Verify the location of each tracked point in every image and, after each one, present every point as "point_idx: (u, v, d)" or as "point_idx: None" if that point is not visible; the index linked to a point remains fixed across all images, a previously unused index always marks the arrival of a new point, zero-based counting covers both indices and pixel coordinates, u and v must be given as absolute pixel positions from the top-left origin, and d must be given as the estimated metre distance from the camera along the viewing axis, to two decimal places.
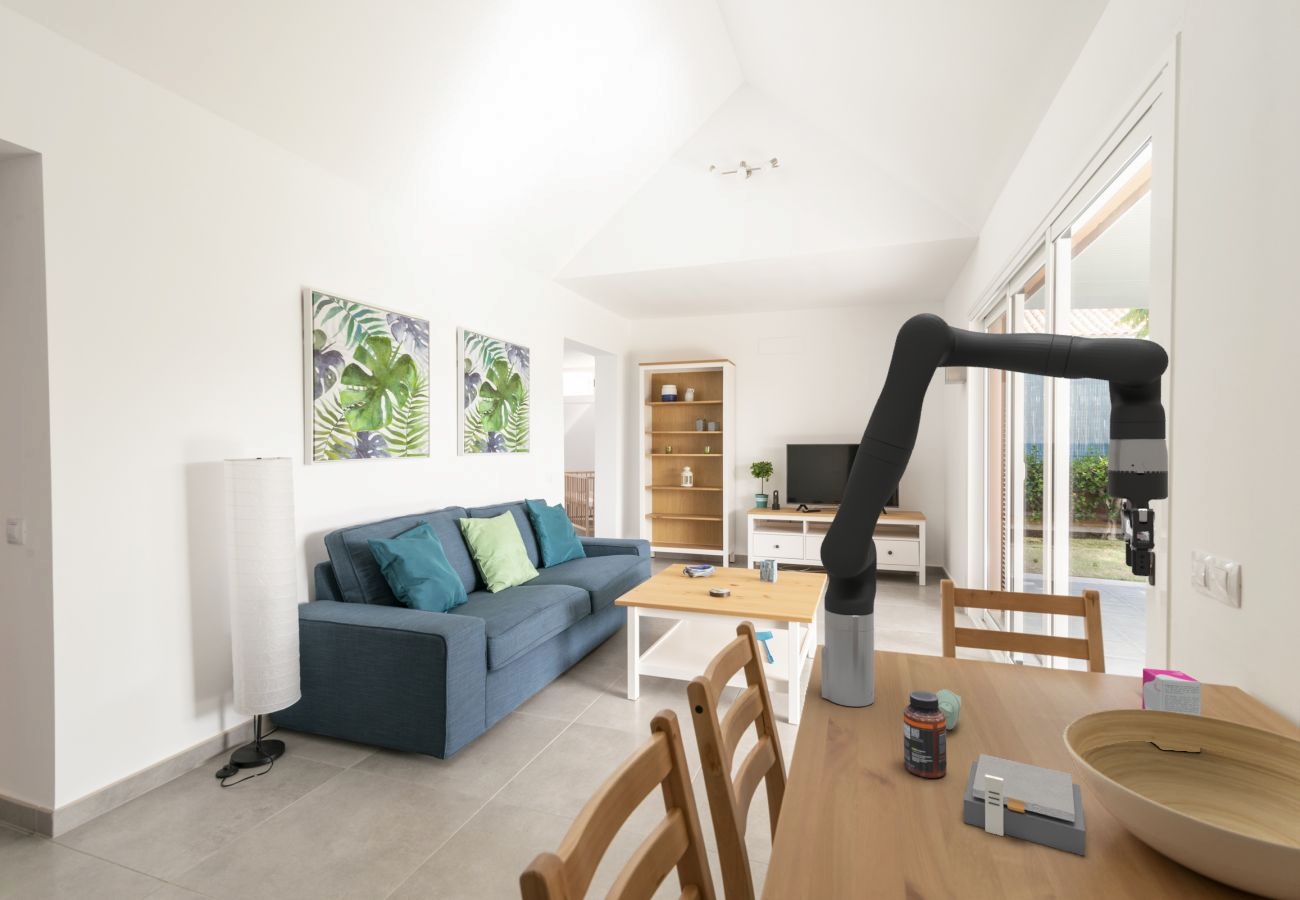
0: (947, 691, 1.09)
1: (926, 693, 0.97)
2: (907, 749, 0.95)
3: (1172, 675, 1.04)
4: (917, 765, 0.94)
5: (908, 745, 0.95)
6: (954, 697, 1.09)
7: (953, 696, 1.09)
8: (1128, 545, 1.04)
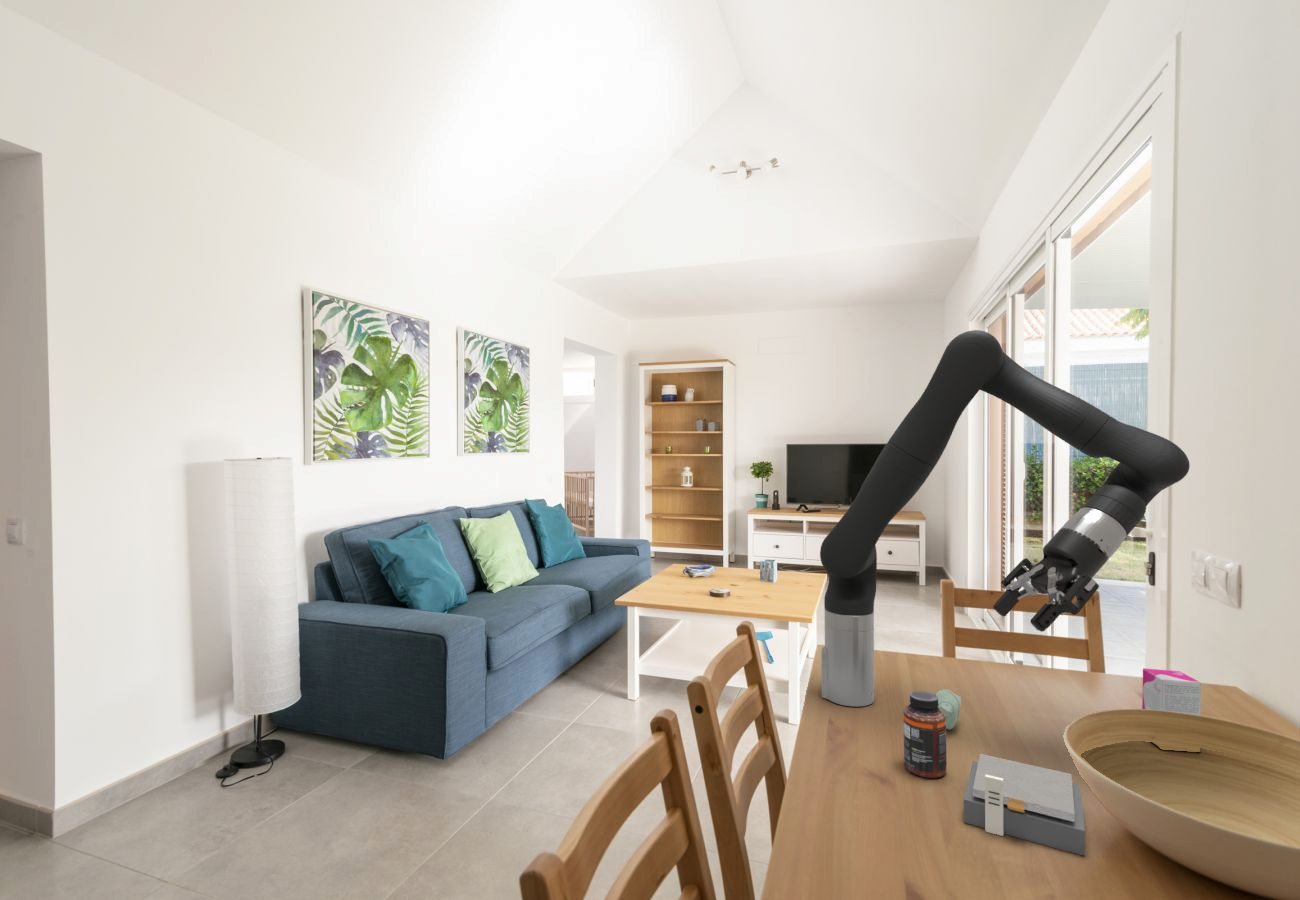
0: (947, 691, 1.10)
1: (926, 693, 0.97)
2: (907, 749, 0.95)
3: (1172, 675, 1.04)
4: (917, 765, 0.94)
5: (908, 745, 0.95)
6: (954, 697, 1.09)
7: (953, 696, 1.09)
8: (1010, 594, 1.01)
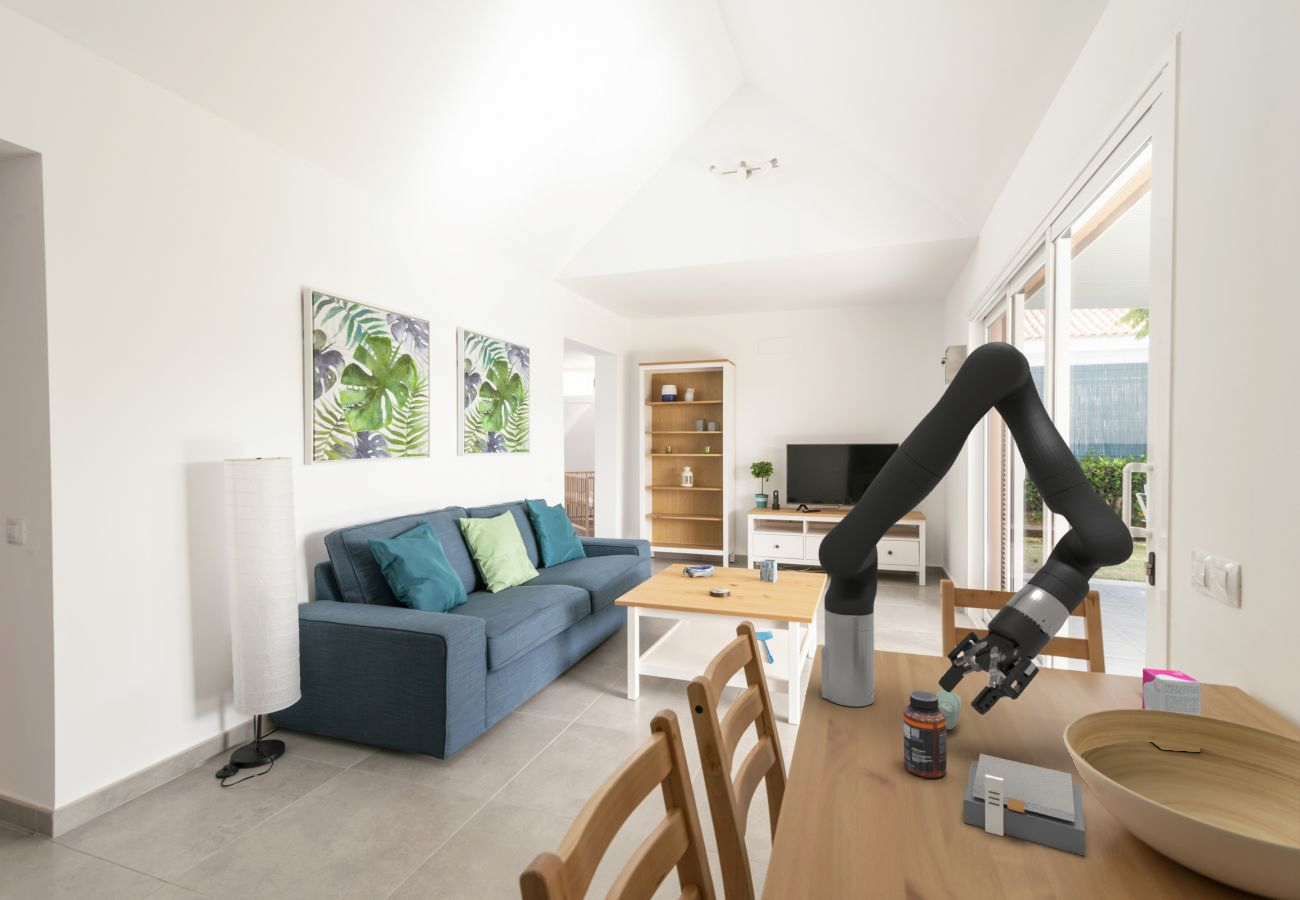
0: None
1: (926, 693, 0.97)
2: (907, 749, 0.95)
3: (1172, 675, 1.04)
4: (917, 765, 0.94)
5: (908, 745, 0.95)
6: (954, 697, 1.09)
7: (953, 696, 1.09)
8: (955, 669, 1.01)
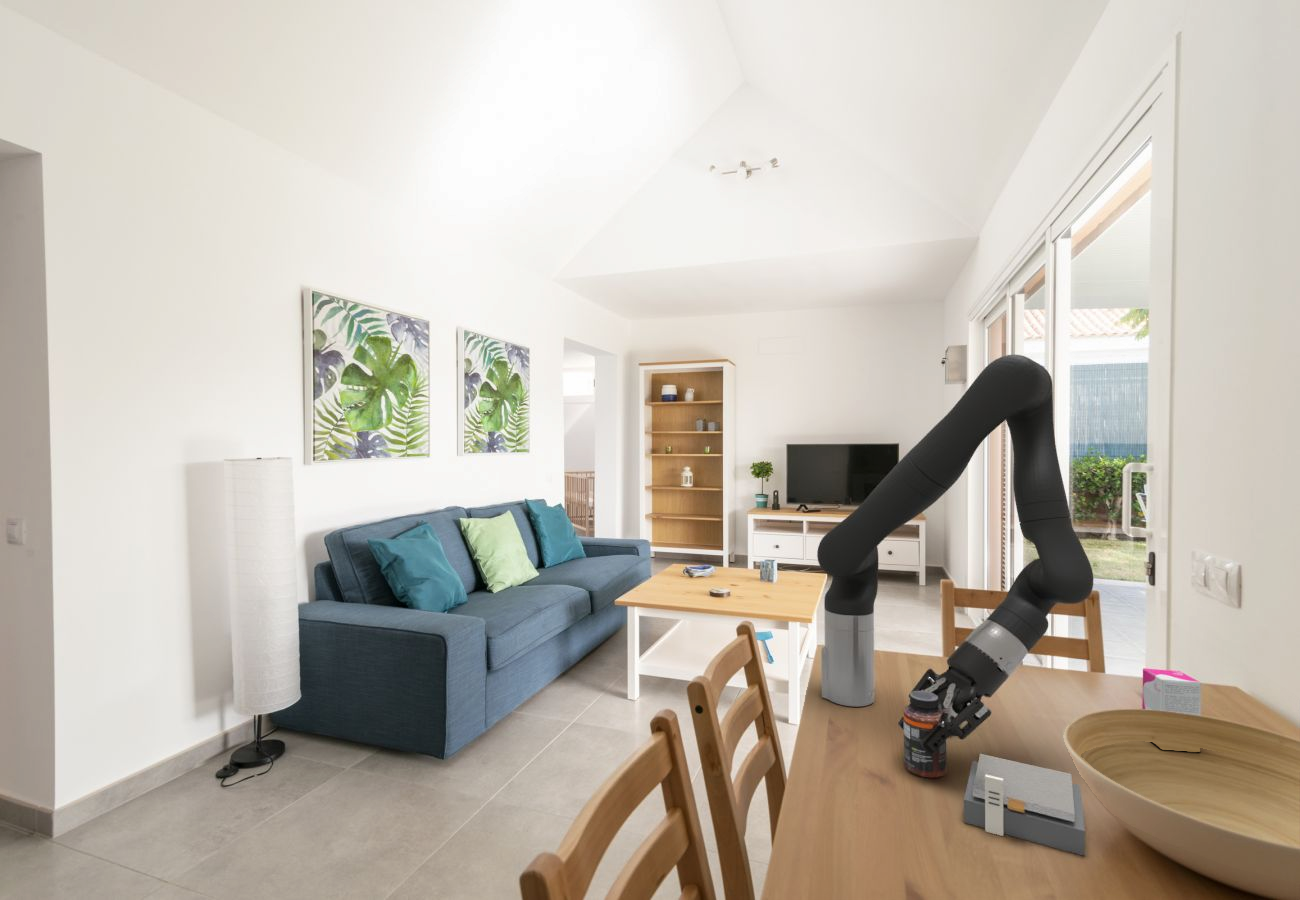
0: None
1: (926, 693, 0.97)
2: (907, 749, 0.95)
3: (1172, 675, 1.04)
4: (917, 765, 0.94)
5: (908, 744, 0.95)
6: None
7: None
8: None
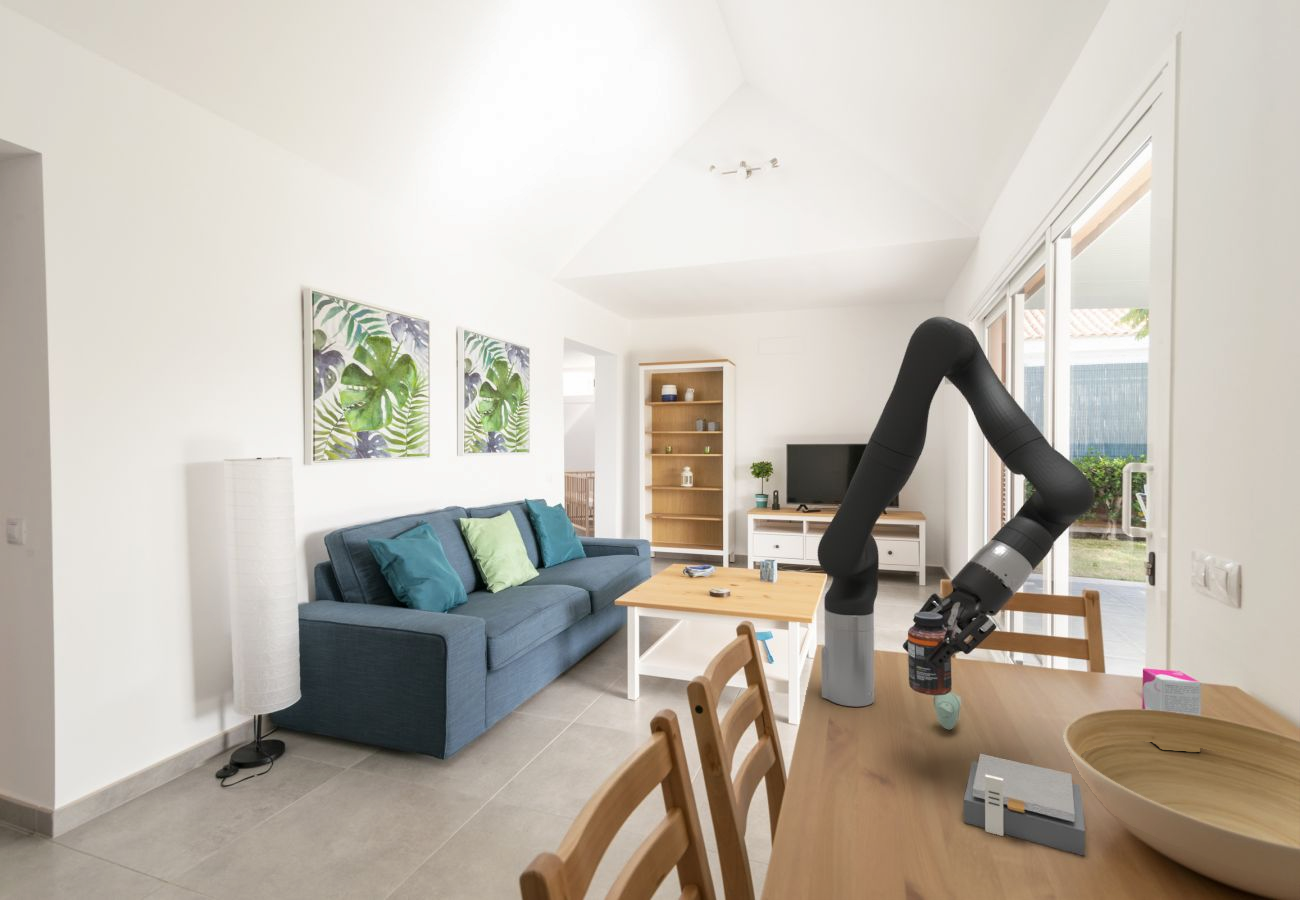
0: None
1: (930, 613, 0.96)
2: (912, 669, 0.95)
3: (1172, 675, 1.04)
4: (922, 683, 0.93)
5: (912, 664, 0.95)
6: (954, 697, 1.09)
7: (953, 696, 1.09)
8: None
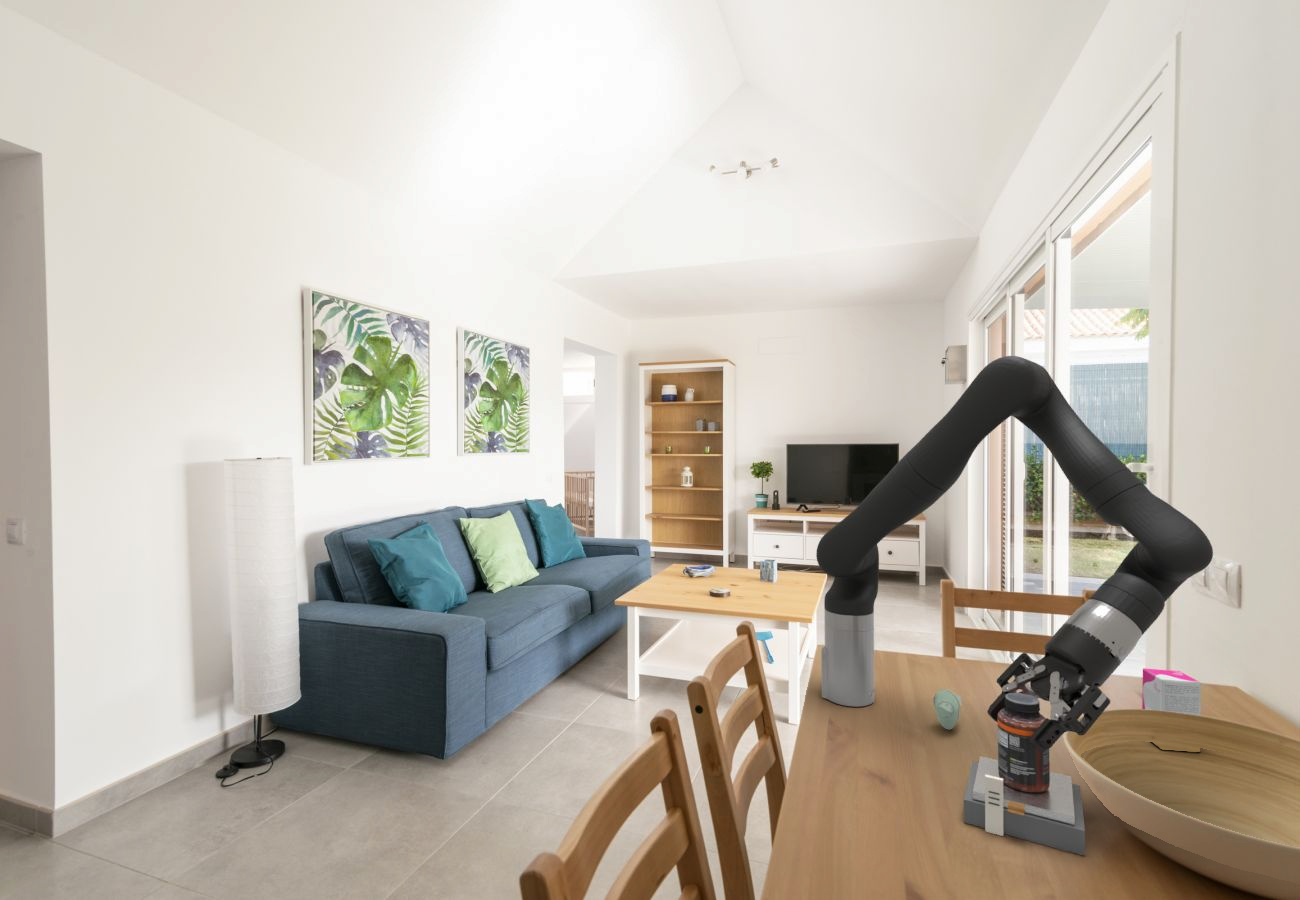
0: (947, 691, 1.10)
1: (1024, 695, 0.85)
2: (1004, 760, 0.83)
3: (1172, 675, 1.04)
4: (1017, 778, 0.82)
5: (1005, 754, 0.83)
6: (954, 697, 1.09)
7: (953, 696, 1.09)
8: None
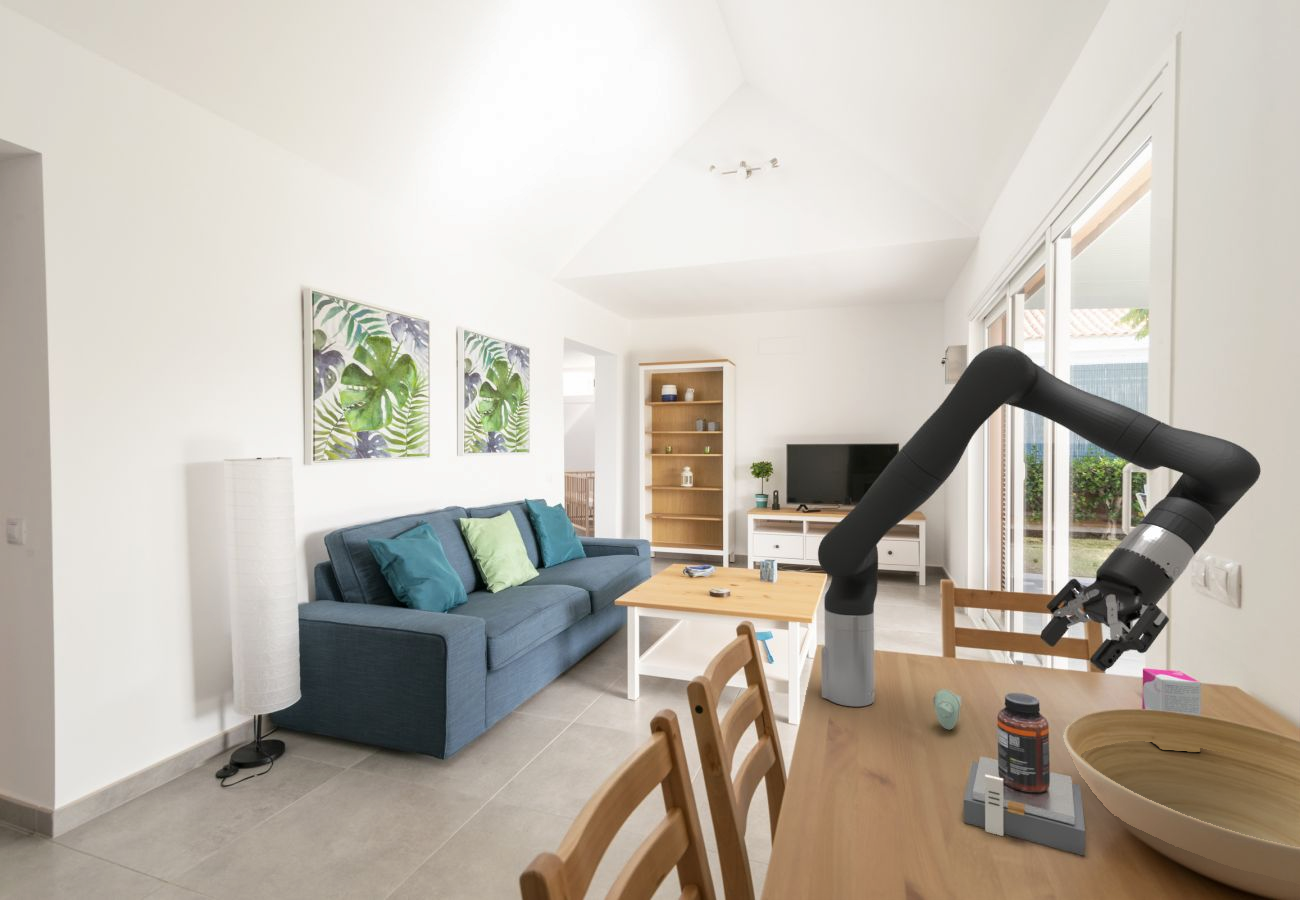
0: (947, 691, 1.09)
1: (1023, 695, 0.85)
2: (1004, 760, 0.83)
3: (1172, 675, 1.04)
4: (1017, 778, 0.82)
5: (1005, 754, 0.83)
6: (954, 697, 1.09)
7: (953, 696, 1.09)
8: (1059, 621, 0.90)
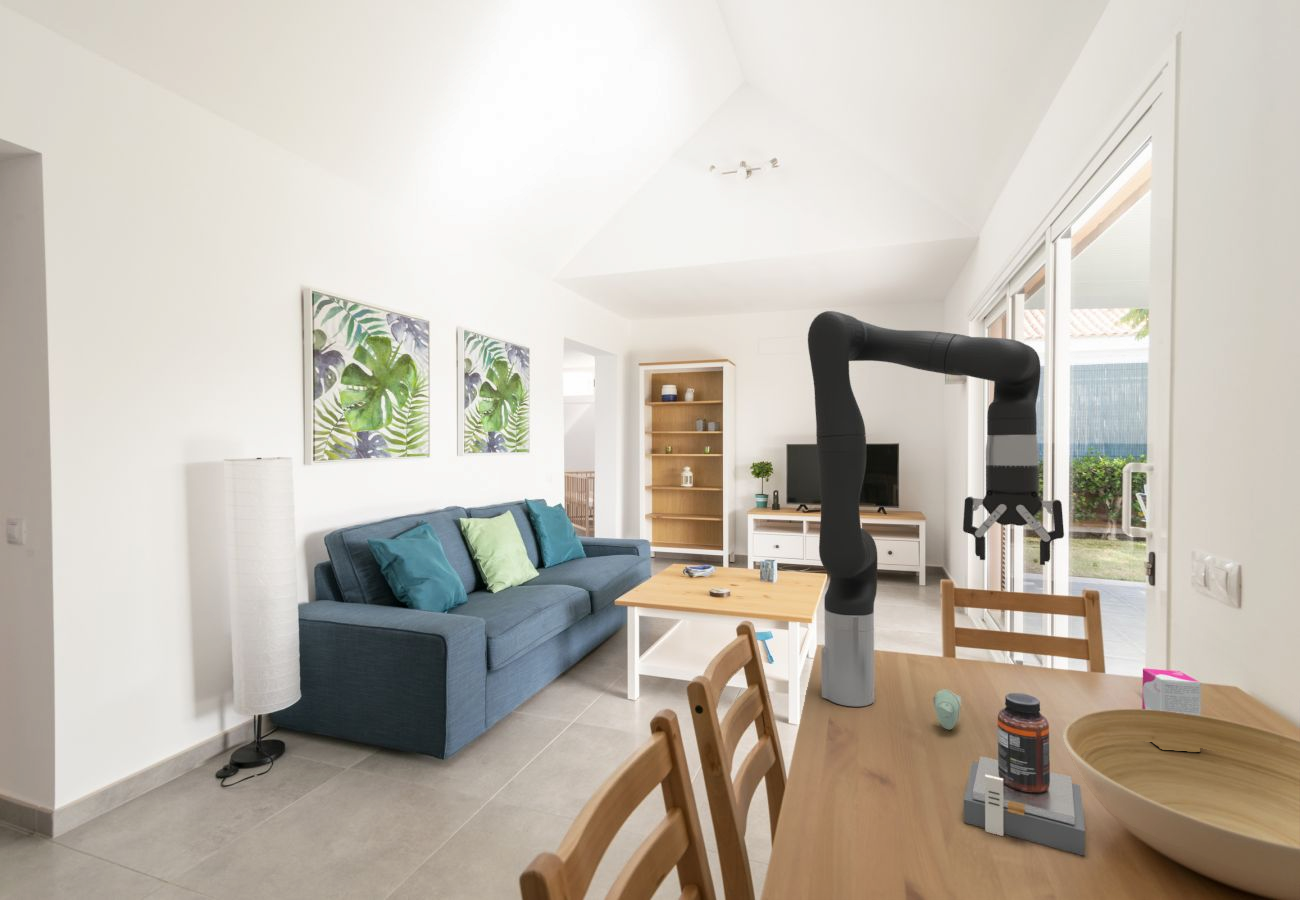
0: (947, 691, 1.09)
1: (1024, 695, 0.85)
2: (1004, 760, 0.83)
3: (1172, 675, 1.04)
4: (1017, 778, 0.82)
5: (1005, 754, 0.83)
6: (954, 697, 1.09)
7: (953, 696, 1.09)
8: (984, 539, 1.05)
